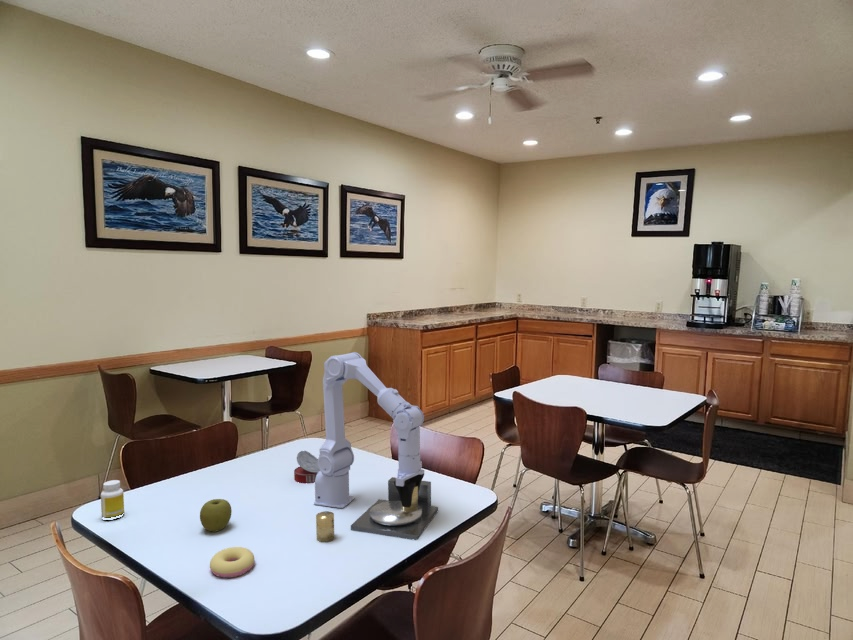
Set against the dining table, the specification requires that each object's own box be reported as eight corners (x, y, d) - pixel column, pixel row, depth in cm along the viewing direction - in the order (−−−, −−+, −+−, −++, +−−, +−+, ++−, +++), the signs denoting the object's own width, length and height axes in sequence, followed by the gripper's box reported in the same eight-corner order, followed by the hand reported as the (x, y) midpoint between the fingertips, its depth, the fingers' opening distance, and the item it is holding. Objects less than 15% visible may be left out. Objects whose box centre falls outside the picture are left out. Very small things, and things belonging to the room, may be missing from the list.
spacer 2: (399, 511, 143) (398, 488, 143) (404, 504, 148) (404, 482, 147) (415, 512, 142) (414, 490, 142) (419, 506, 146) (419, 484, 146)
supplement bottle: (128, 515, 151) (127, 480, 150) (110, 523, 146) (108, 487, 145) (115, 511, 153) (114, 477, 153) (97, 519, 148) (95, 484, 148)
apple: (237, 523, 145) (237, 497, 145) (220, 537, 137) (219, 509, 137) (212, 520, 147) (211, 495, 146) (193, 534, 139) (192, 507, 139)
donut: (245, 563, 129) (204, 570, 124) (246, 543, 130) (205, 548, 124) (259, 575, 121) (216, 582, 116) (261, 553, 122) (218, 559, 116)
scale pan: (361, 521, 142) (360, 518, 142) (382, 500, 155) (382, 497, 155) (411, 528, 137) (411, 525, 137) (428, 506, 151) (428, 504, 151)
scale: (350, 530, 141) (350, 503, 140) (382, 499, 161) (382, 476, 160) (416, 540, 135) (415, 512, 134) (441, 506, 155) (441, 482, 154)
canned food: (313, 486, 184) (325, 457, 187) (323, 492, 176) (335, 462, 178) (283, 476, 179) (295, 446, 182) (292, 482, 171) (305, 451, 173)
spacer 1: (313, 541, 135) (312, 517, 135) (322, 533, 139) (321, 510, 139) (329, 543, 134) (328, 519, 133) (337, 535, 138) (337, 512, 137)
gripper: (414, 463, 136) (414, 516, 137) (432, 446, 149) (432, 494, 150) (387, 460, 138) (388, 512, 139) (408, 444, 152) (408, 491, 153)
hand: (409, 503), depth 145 cm, fingers closed on spacer 2, 4 cm apart
